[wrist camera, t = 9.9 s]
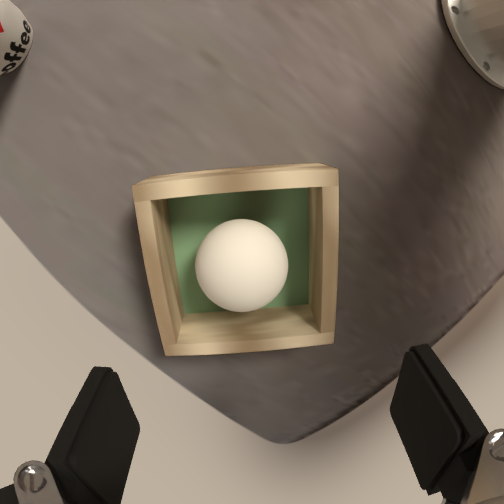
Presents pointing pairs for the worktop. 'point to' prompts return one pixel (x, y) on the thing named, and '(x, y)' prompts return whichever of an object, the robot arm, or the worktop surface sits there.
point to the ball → (241, 265)
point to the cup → (13, 37)
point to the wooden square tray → (252, 208)
